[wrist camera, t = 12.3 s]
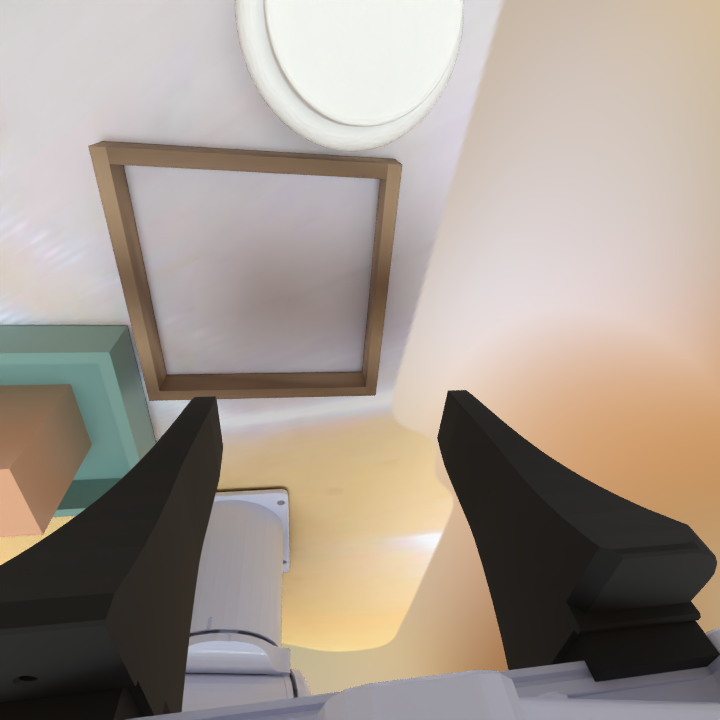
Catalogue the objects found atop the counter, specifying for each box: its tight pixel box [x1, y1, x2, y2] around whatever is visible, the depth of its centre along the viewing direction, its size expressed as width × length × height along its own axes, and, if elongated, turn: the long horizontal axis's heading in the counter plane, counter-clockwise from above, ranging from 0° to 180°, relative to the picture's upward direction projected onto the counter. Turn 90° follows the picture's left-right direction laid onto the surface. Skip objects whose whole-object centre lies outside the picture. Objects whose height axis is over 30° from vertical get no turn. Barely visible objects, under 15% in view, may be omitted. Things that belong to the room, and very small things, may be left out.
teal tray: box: [0, 325, 156, 517], centre depth 23 cm, size 11×11×3 cm
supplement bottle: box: [235, 0, 464, 151], centre depth 13 cm, size 6×6×10 cm
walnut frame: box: [88, 141, 402, 401], centre depth 21 cm, size 12×12×2 cm
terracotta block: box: [0, 384, 92, 537], centre depth 21 cm, size 4×4×6 cm
